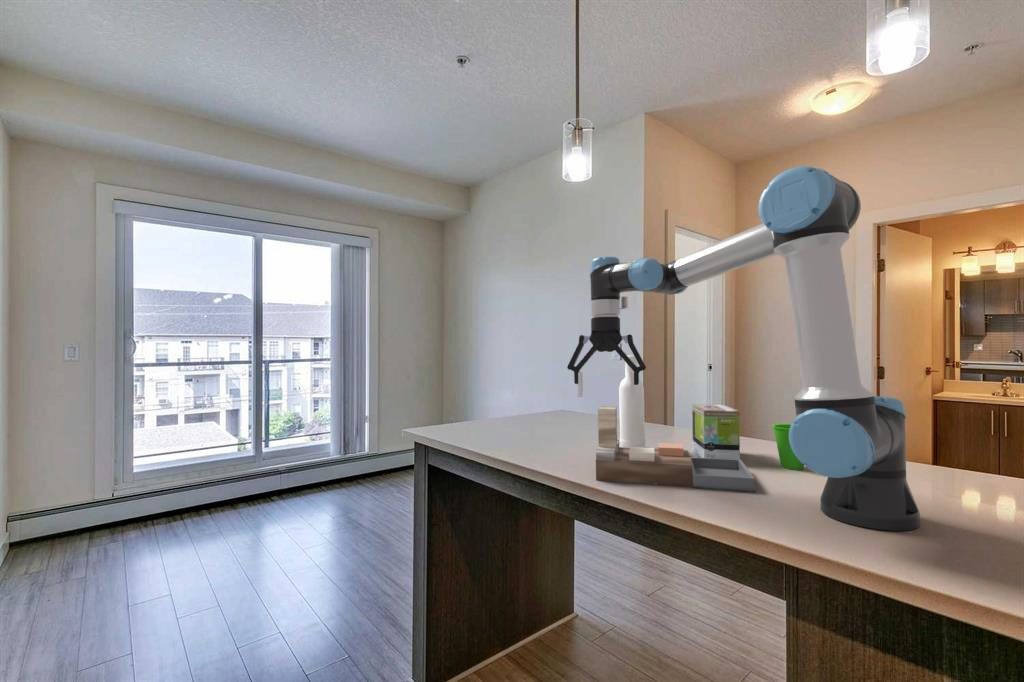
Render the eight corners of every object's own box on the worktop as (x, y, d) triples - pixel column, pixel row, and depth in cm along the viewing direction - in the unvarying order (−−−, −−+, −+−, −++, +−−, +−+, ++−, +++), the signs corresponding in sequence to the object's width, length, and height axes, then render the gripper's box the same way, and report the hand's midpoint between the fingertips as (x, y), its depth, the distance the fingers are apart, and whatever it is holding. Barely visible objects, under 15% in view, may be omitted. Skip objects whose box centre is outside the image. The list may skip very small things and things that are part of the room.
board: (692, 486, 110) (692, 465, 110) (596, 480, 117) (595, 459, 117) (688, 469, 126) (687, 450, 126) (603, 464, 132) (602, 446, 132)
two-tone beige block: (614, 460, 116) (613, 412, 116) (596, 459, 117) (595, 411, 117) (619, 447, 131) (618, 404, 131) (603, 446, 132) (602, 403, 132)
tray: (755, 491, 106) (754, 478, 106) (693, 487, 109) (692, 474, 109) (741, 471, 123) (741, 459, 123) (688, 468, 127) (687, 457, 127)
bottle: (627, 445, 157) (625, 355, 157) (649, 448, 152) (647, 355, 152) (615, 449, 151) (613, 355, 151) (638, 452, 146) (636, 355, 146)
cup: (801, 463, 130) (800, 423, 130) (819, 472, 121) (818, 429, 121) (767, 463, 130) (766, 423, 131) (782, 471, 121) (781, 429, 122)
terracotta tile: (683, 456, 119) (683, 448, 119) (658, 455, 121) (658, 447, 121) (682, 451, 125) (682, 443, 125) (658, 450, 126) (658, 442, 126)
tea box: (741, 463, 131) (740, 410, 131) (703, 462, 133) (702, 409, 133) (725, 451, 146) (724, 403, 146) (691, 450, 148) (690, 403, 148)
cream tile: (654, 461, 114) (654, 453, 114) (629, 460, 116) (628, 452, 116) (654, 456, 120) (654, 448, 120) (630, 454, 122) (630, 447, 122)
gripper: (654, 316, 124) (655, 396, 124) (561, 318, 132) (562, 394, 132) (654, 314, 117) (655, 399, 117) (556, 317, 124) (557, 397, 124)
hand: (606, 397), depth 124 cm, fingers open, 13 cm apart
